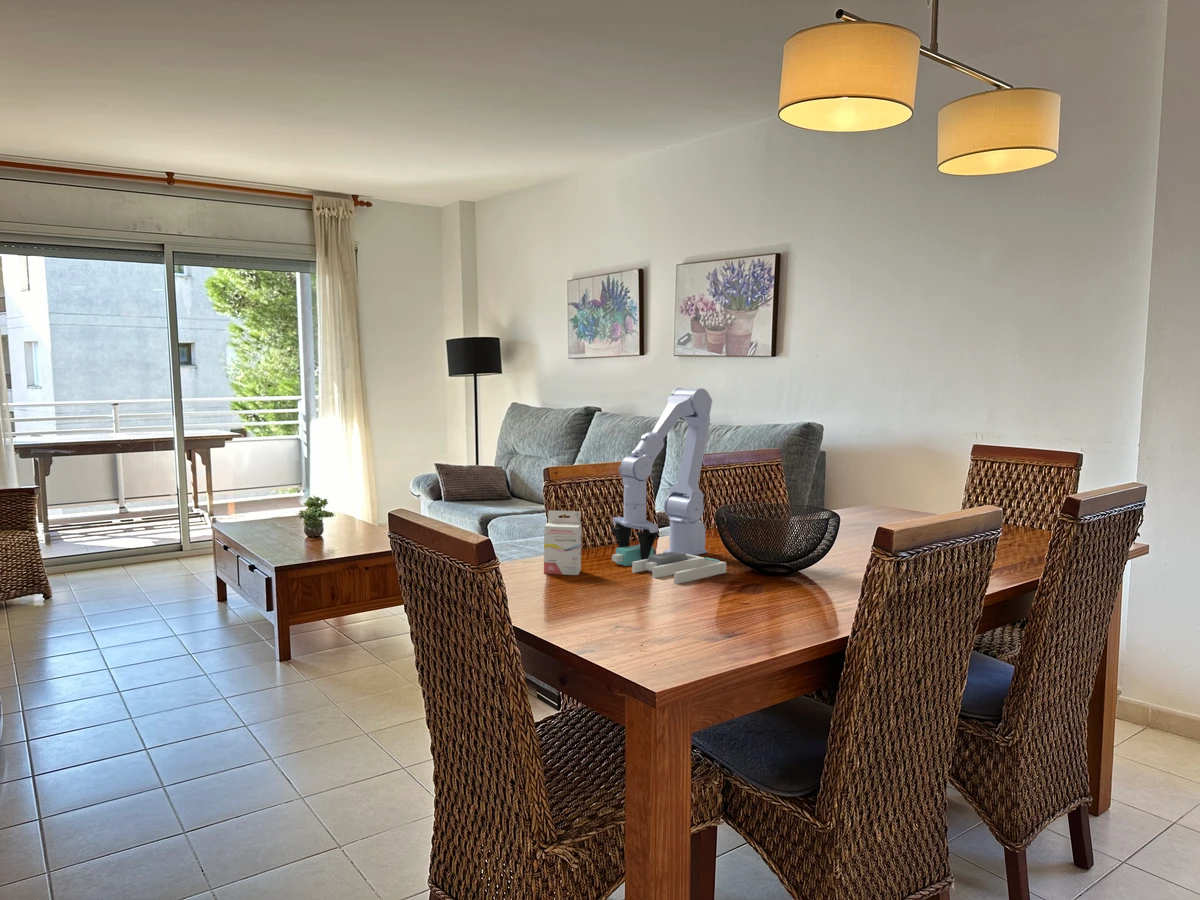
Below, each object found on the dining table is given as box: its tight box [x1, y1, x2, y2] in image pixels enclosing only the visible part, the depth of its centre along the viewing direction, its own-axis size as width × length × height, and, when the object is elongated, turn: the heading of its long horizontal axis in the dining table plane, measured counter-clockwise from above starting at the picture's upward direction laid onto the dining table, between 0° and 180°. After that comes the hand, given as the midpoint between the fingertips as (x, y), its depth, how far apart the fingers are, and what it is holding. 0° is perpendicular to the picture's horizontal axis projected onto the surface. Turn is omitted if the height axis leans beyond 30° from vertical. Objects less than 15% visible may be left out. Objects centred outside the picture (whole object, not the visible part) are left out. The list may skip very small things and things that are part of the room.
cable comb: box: [631, 553, 727, 585], centre depth 199 cm, size 17×15×3 cm
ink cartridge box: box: [543, 510, 582, 576], centre depth 198 cm, size 9×5×15 cm, turn 84°
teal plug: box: [611, 544, 657, 567], centre depth 210 cm, size 13×4×4 cm, turn 127°
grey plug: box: [645, 551, 688, 573], centre depth 201 cm, size 13×4×4 cm, turn 131°
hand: (634, 556), depth 210 cm, fingers open, 7 cm apart
